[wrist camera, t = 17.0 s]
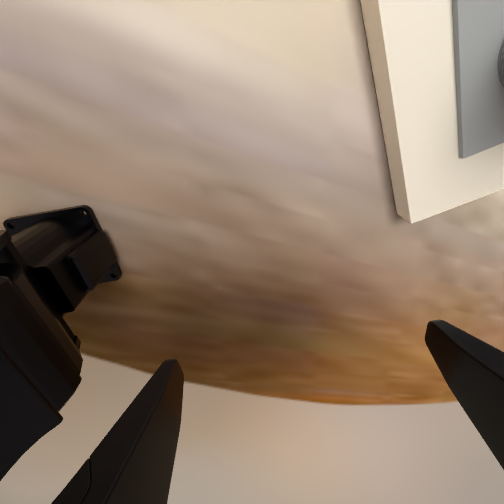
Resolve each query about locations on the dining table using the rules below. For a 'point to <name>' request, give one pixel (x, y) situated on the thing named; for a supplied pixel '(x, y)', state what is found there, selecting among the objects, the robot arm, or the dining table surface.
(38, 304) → the robot arm
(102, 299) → the dining table surface
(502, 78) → the metal cylinder
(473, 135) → the white flat square slab
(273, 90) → the dining table surface
